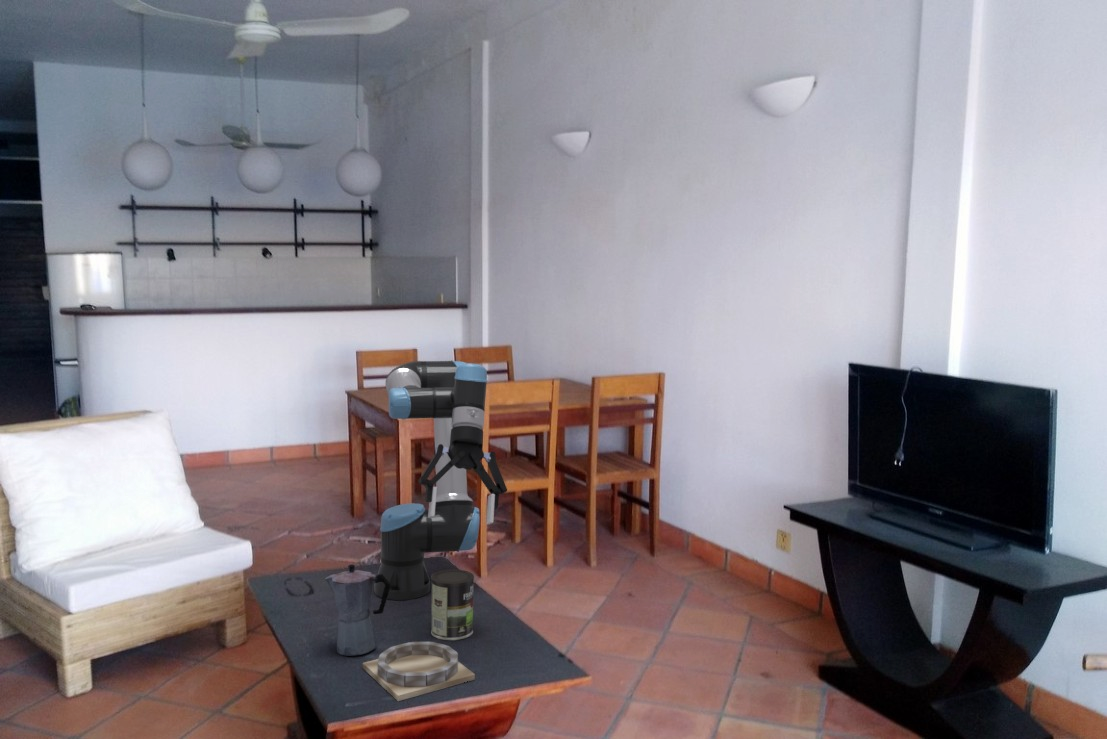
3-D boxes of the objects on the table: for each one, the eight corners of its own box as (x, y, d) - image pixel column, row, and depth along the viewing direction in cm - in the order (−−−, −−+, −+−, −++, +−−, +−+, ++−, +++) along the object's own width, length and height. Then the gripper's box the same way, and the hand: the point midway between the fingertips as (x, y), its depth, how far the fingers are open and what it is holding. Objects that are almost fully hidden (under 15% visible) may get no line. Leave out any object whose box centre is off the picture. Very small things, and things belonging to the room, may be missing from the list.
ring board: (362, 668, 194) (362, 652, 194) (435, 649, 205) (436, 634, 204) (397, 701, 180) (398, 684, 179) (474, 679, 190) (475, 663, 190)
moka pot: (330, 639, 209) (330, 557, 207) (395, 641, 209) (395, 559, 207) (318, 656, 200) (318, 570, 197) (386, 658, 199) (386, 573, 197)
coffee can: (478, 626, 219) (479, 571, 217) (466, 642, 209) (466, 585, 207) (438, 621, 221) (439, 567, 219) (424, 638, 211) (424, 581, 209)
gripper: (418, 416, 197) (410, 511, 189) (523, 432, 206) (519, 523, 198) (410, 425, 203) (401, 517, 196) (512, 440, 212) (507, 528, 204)
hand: (460, 520), depth 197 cm, fingers open, 13 cm apart
